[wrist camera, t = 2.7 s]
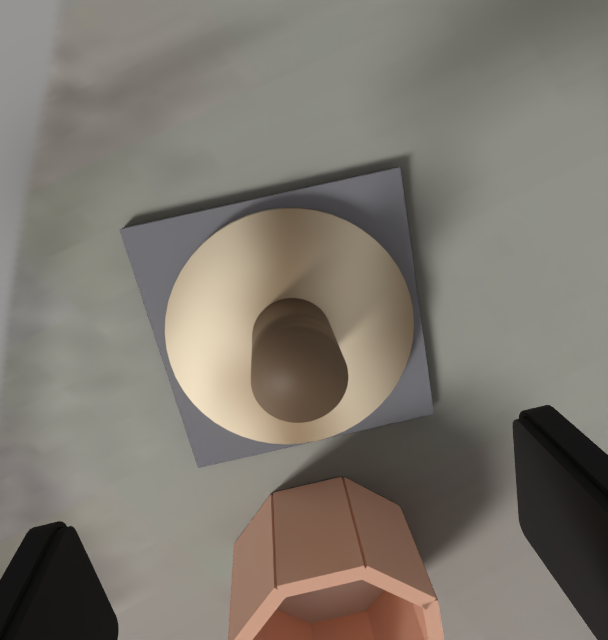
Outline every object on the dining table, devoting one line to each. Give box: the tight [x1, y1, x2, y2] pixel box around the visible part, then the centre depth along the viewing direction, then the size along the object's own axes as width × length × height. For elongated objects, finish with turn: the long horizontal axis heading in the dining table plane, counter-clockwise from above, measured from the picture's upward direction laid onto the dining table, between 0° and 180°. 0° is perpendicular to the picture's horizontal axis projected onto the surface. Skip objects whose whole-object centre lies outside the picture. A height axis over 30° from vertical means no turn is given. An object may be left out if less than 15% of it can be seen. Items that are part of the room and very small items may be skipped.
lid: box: [165, 207, 414, 444], centre depth 20 cm, size 11×11×5 cm
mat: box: [120, 167, 434, 468], centre depth 23 cm, size 12×12×1 cm
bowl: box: [228, 477, 444, 640], centre depth 25 cm, size 9×9×6 cm
